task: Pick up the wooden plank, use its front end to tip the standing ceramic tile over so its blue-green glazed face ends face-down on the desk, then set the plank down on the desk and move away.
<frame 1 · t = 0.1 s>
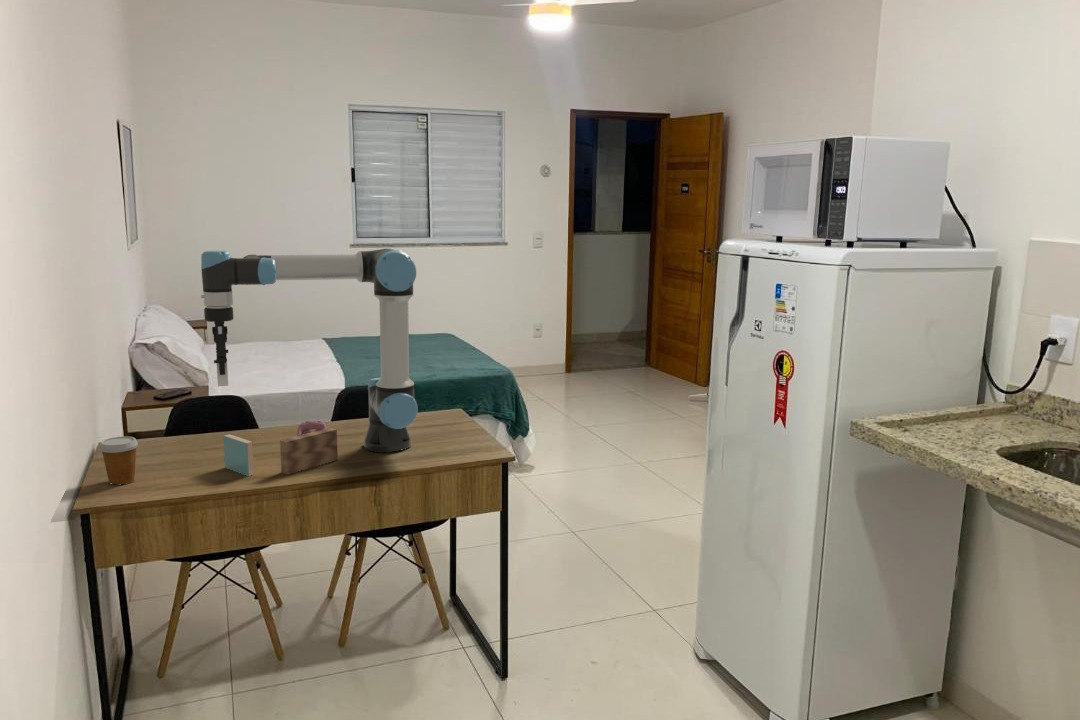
hand: (222, 380, 226), 28 cm above the table, tool pointing down, fingers open, 13 cm apart
video game controller: (312, 438, 269), on the table
disposable coffee cup: (122, 482, 224), on the table
tile: (239, 471, 234), on the table
wooden plank: (310, 466, 240), on the table
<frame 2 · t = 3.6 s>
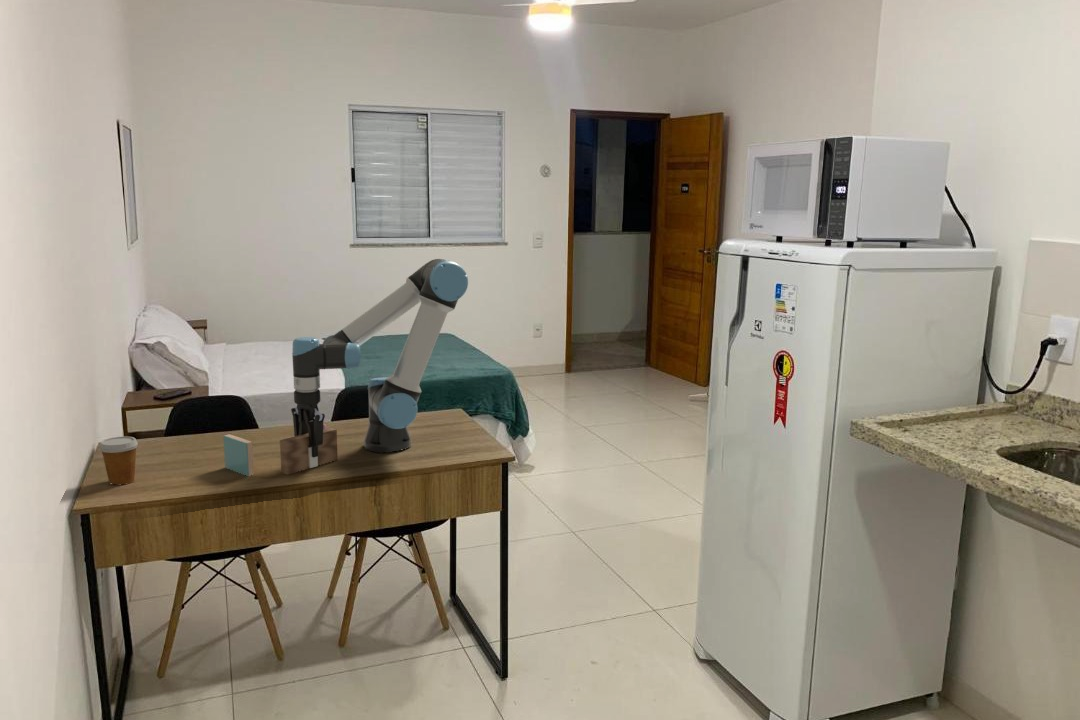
hand: (309, 465, 239), 0 cm above the table, tool pointing down, fingers open, 3 cm apart
wooden plank: (310, 466, 240), on the table, touching gripper
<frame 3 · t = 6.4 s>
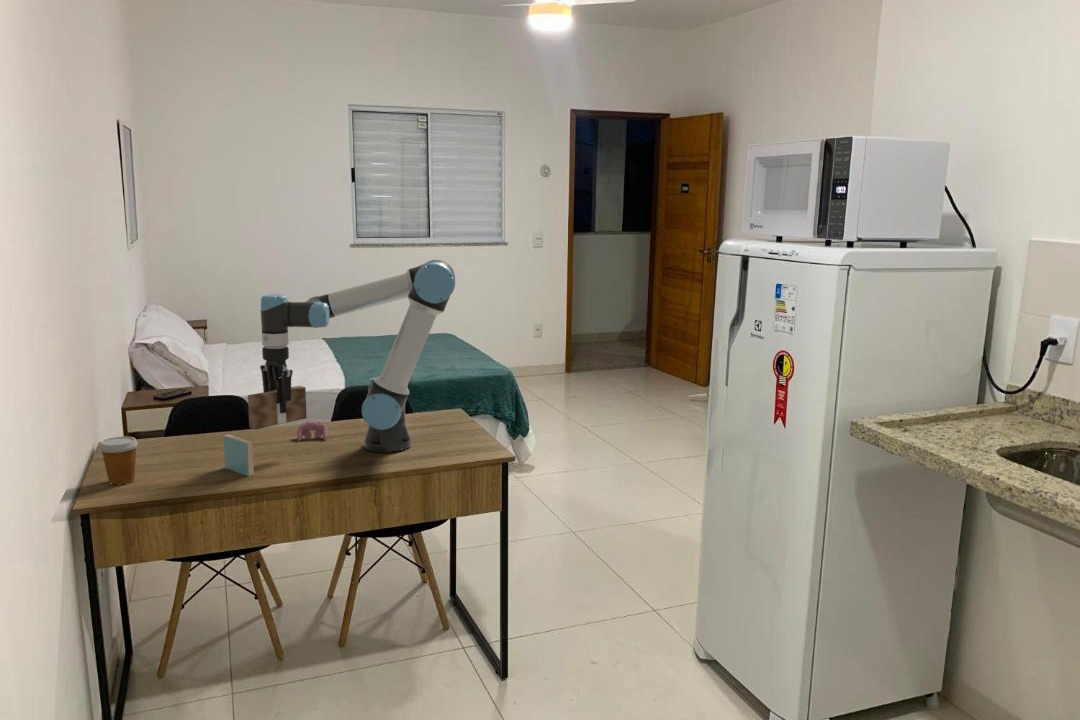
hand: (278, 421, 243), 12 cm above the table, tool pointing down, fingers closed on wooden plank, 3 cm apart
wooden plank: (278, 422, 243), point 12 cm above the table, touching gripper
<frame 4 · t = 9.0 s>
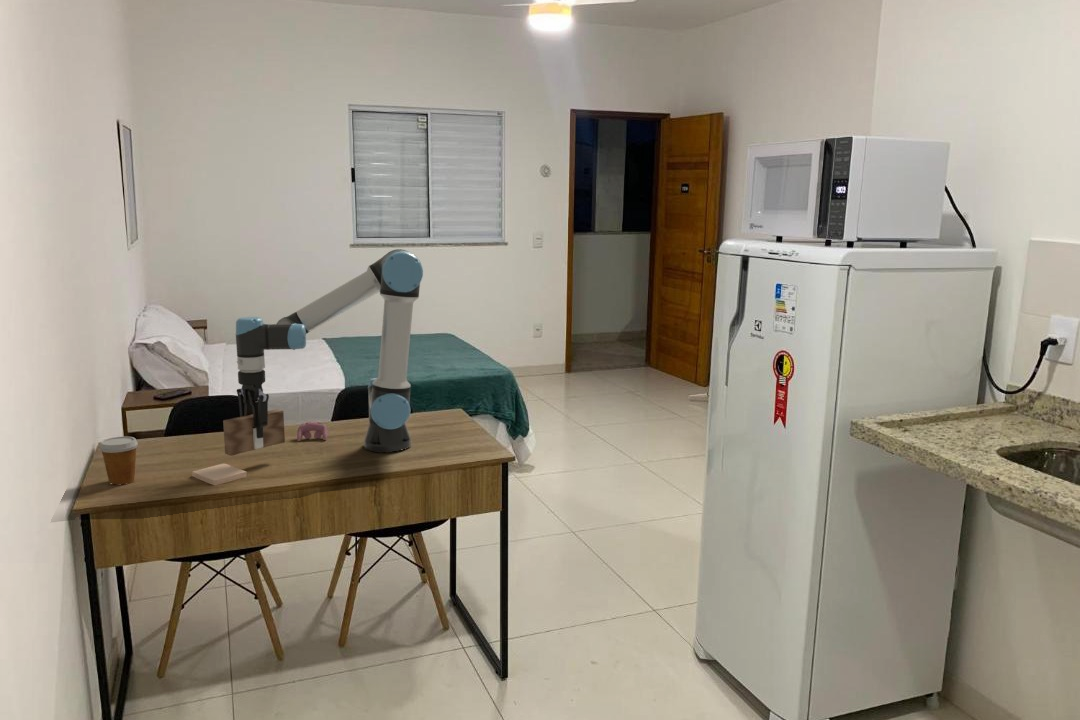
hand: (255, 446, 237), 6 cm above the table, tool pointing down, fingers closed on wooden plank, 3 cm apart
tile: (235, 470, 233), on the table, tilted 90°
wooden plank: (255, 447, 238), point 6 cm above the table, touching gripper
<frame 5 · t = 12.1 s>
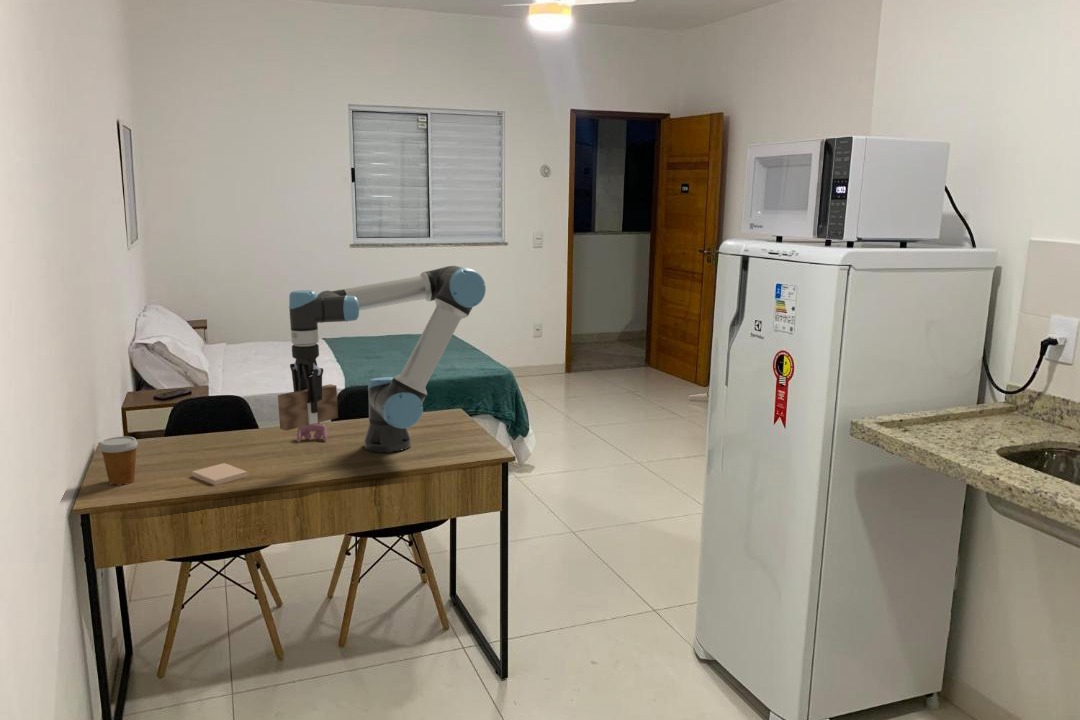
hand: (309, 422, 235), 14 cm above the table, tool pointing down, fingers closed on wooden plank, 3 cm apart
wooden plank: (309, 423, 235), point 14 cm above the table, touching gripper
when the fingers open (1 cm above the table, at t = 15.0 s): wooden plank drops 1 cm, on the table.
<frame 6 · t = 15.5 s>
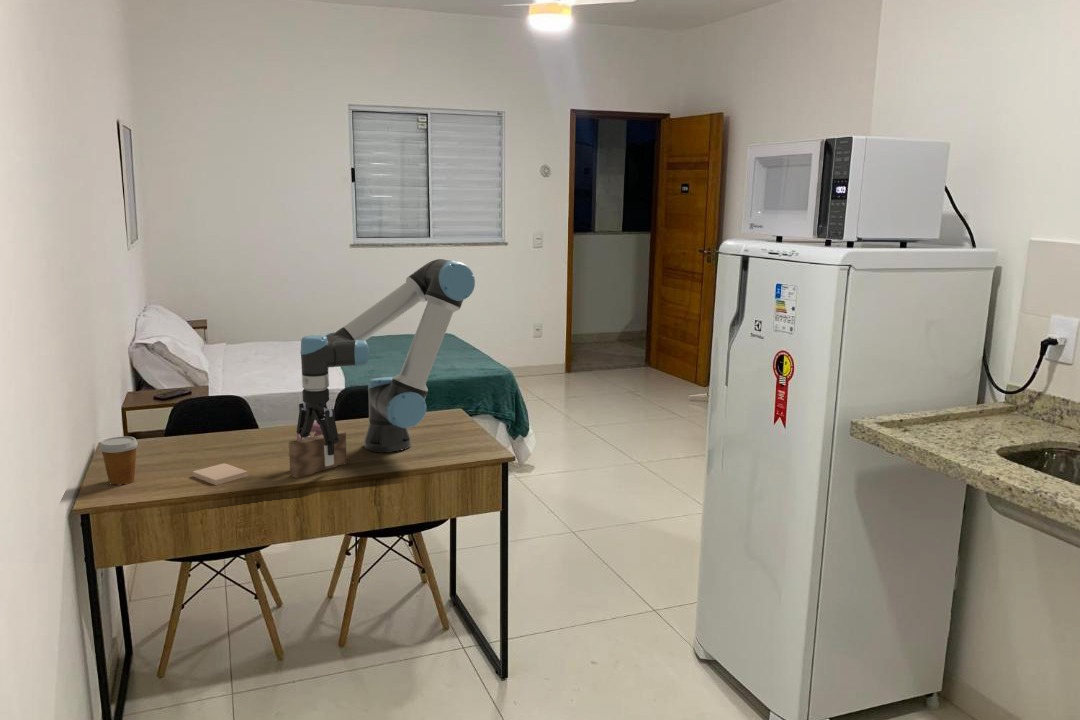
hand: (318, 461, 236), 2 cm above the table, tool pointing down, fingers open, 10 cm apart
wooden plank: (319, 469, 237), on the table
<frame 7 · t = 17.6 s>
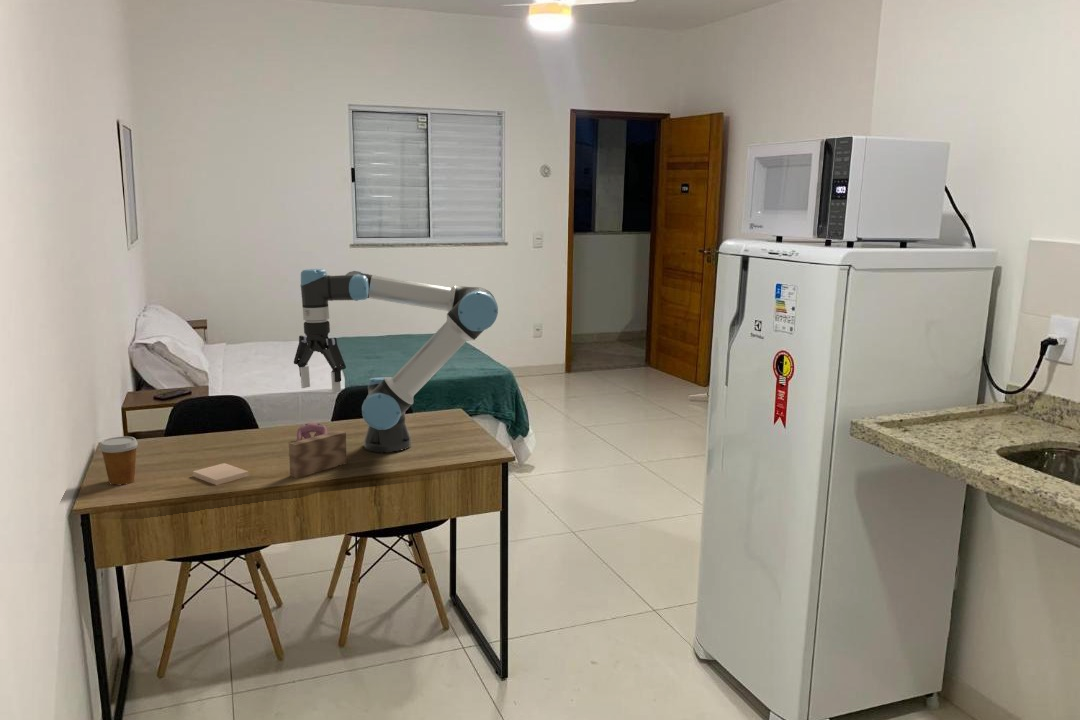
hand: (321, 389, 242), 22 cm above the table, tool pointing down, fingers open, 13 cm apart
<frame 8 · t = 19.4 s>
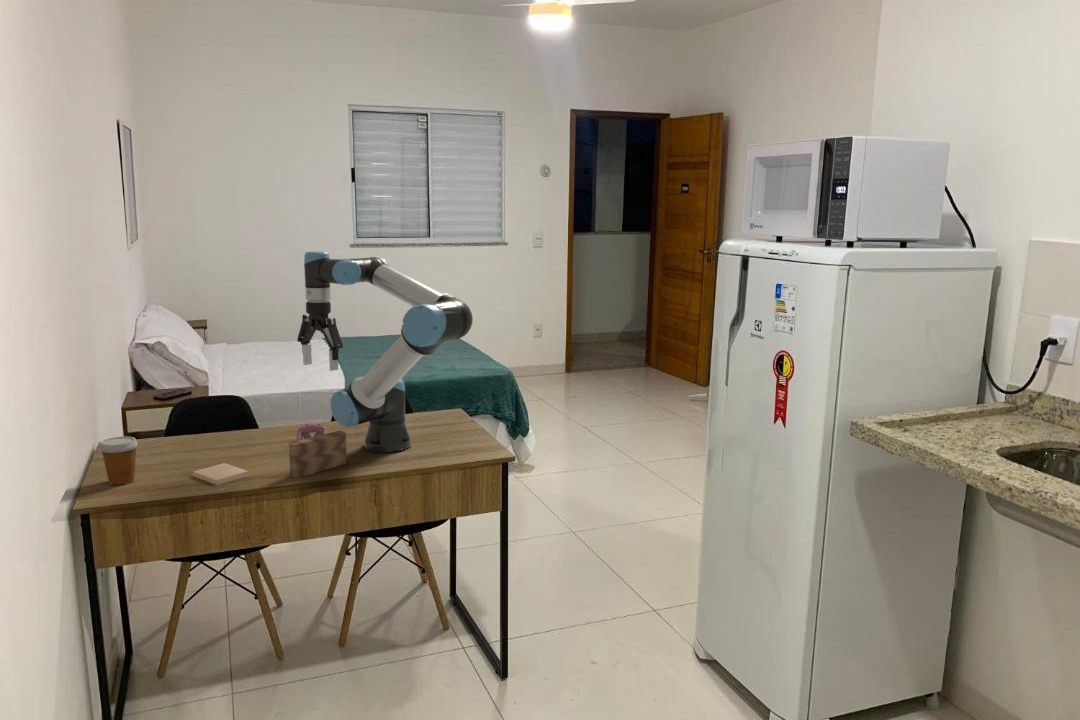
hand: (320, 367, 253), 27 cm above the table, tool pointing down, fingers open, 13 cm apart
at the end: tile tilted 90°; the gripper is holding nothing; wooden plank inside the target area (0.2 cm from its centre), on the table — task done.
